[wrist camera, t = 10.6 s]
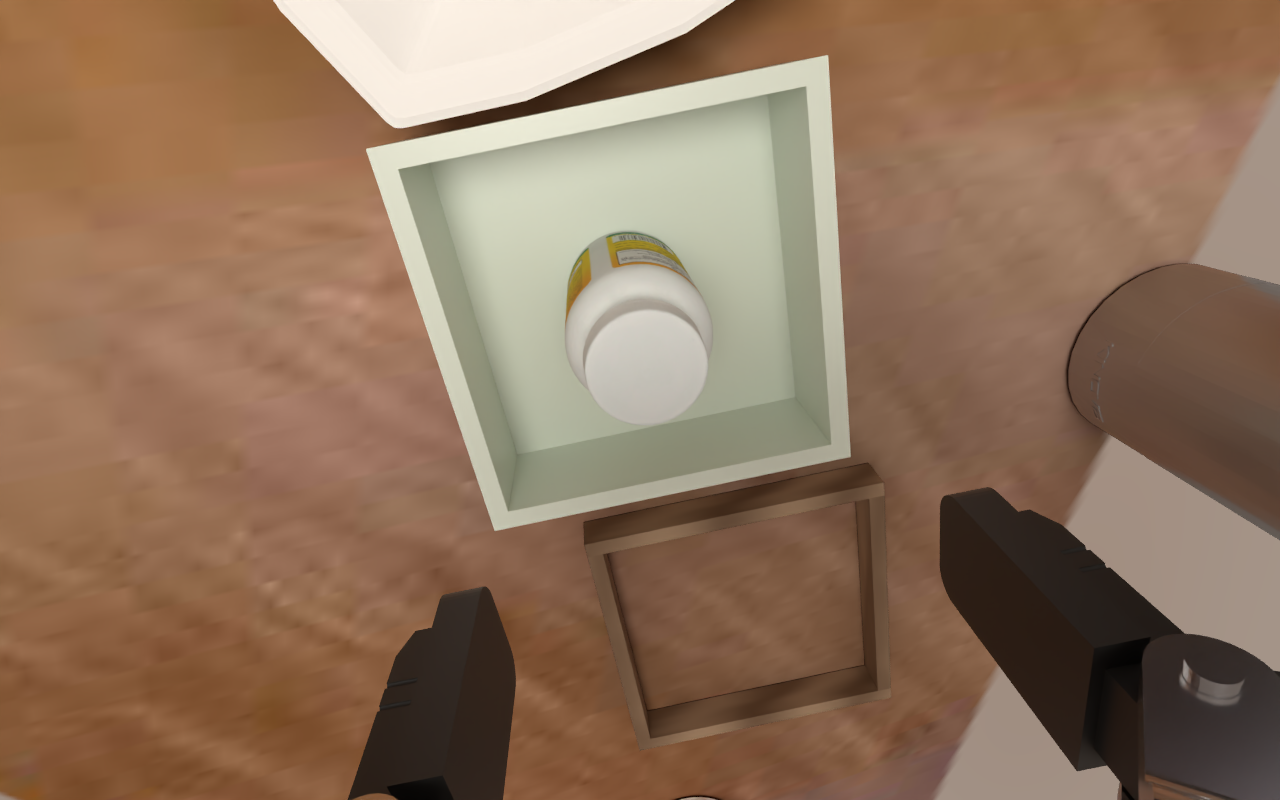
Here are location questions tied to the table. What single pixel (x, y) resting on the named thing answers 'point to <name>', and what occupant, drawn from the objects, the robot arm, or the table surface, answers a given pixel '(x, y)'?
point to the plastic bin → (658, 206)
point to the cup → (697, 798)
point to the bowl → (480, 46)
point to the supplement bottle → (637, 328)
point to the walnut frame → (733, 512)
